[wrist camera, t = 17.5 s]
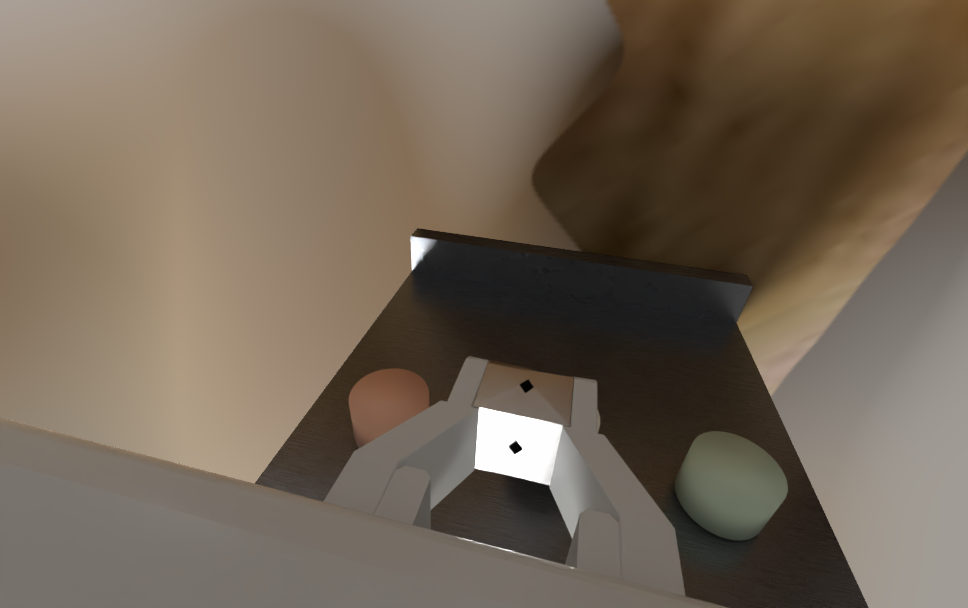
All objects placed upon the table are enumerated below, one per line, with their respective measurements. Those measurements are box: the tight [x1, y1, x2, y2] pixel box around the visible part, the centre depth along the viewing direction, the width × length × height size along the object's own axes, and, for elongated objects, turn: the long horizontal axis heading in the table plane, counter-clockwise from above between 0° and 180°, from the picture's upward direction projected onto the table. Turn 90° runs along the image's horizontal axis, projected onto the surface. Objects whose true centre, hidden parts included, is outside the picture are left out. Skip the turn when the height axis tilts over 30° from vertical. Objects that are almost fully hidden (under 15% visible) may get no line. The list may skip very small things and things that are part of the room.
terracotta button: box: [349, 368, 429, 448], centre depth 27 cm, size 3×5×5 cm, turn 87°
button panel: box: [255, 229, 868, 608], centre depth 32 cm, size 12×32×33 cm, turn 87°
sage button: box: [675, 431, 788, 540], centre depth 24 cm, size 3×5×5 cm, turn 87°
